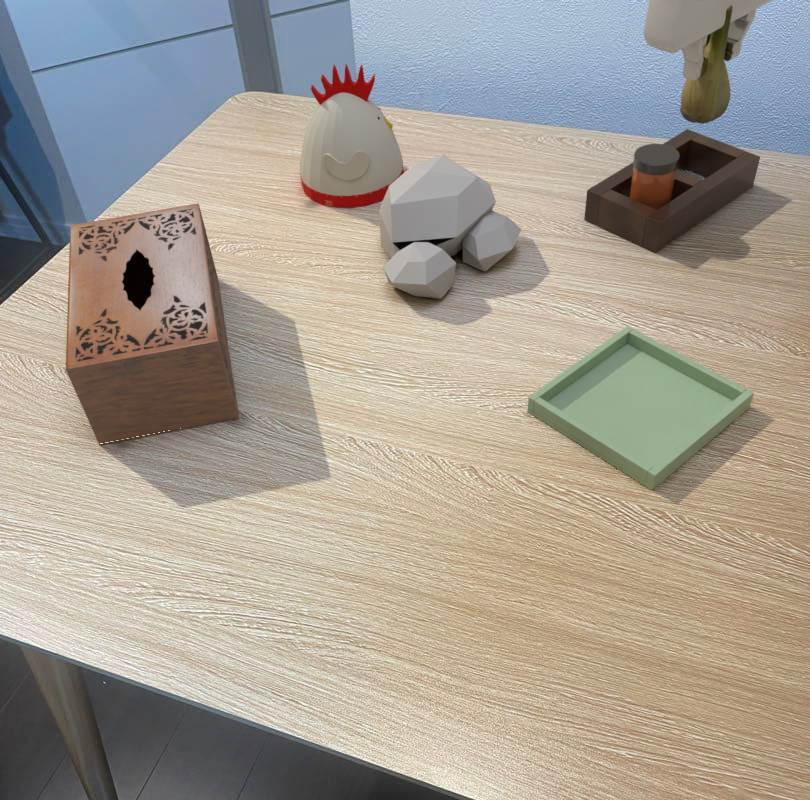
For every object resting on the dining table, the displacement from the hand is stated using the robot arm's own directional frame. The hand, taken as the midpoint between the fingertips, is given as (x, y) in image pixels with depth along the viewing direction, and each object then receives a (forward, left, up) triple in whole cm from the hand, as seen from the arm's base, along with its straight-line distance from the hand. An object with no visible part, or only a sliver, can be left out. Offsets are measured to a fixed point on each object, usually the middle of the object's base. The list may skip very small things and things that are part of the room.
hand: (710, 67), depth 93 cm
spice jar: (+7, -3, -21) cm, 22 cm away
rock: (+21, +20, -21) cm, 36 cm away
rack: (+7, -8, -21) cm, 23 cm away
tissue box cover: (+29, +54, -21) cm, 65 cm away
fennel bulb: (0, 0, -5) cm, 5 cm away
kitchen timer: (+42, +15, -21) cm, 49 cm away
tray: (-14, +25, -21) cm, 36 cm away
